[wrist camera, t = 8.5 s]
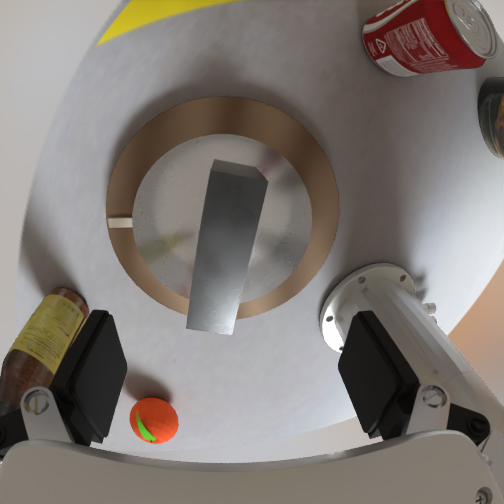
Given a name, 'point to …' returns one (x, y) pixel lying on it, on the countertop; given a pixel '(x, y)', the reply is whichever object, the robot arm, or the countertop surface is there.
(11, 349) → the sauce bottle
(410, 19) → the soda can
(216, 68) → the countertop surface
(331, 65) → the countertop surface
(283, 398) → the countertop surface
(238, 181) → the dial
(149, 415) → the clementine
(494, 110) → the jar
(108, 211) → the base
